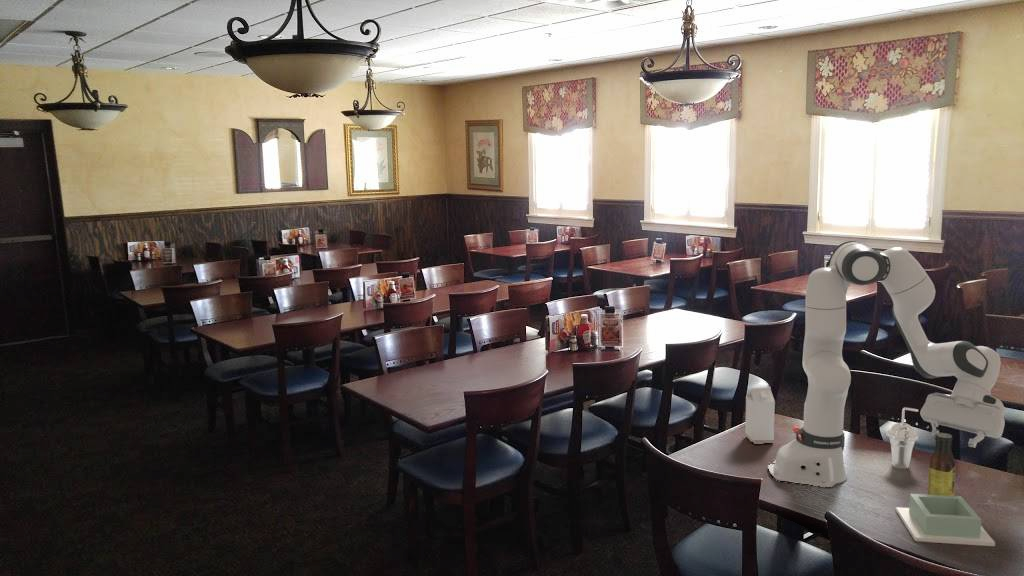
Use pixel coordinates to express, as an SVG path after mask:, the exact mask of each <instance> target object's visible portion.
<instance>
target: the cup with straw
mask: <svg viewBox="0 0 1024 576" xmlns="http://www.w3.org/2000/svg"><path fill="white" fill-rule="evenodd" d="M905 411H911V412H916V413H917V412H918V413H919V412H920V409H917V408H912V407H903V408H902V411H901V422H897V423H895V424H893V425H892V426H891V428H890V429H888V431H887V433H886V435H887V437H889V443H890V449H891V452H890V453H891V462H892V466H893V467H894V468H897V469H900V470H901V469H902V470H903V469H904V470H905V469H906V468H907V469H909V468H910V467H909V465H910V462H911V458H912V454H913V453H912V452H913V448H914V445H915V443H916V442H915V441H917V440H919V437H918V433H916V432H915V429H914V428H913V427H912V426H911V424H908V423H906V422H905V413H906V412H905ZM908 467H909V468H908Z"/></svg>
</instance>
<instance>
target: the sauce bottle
mask: <svg viewBox="0 0 1024 576" xmlns="http://www.w3.org/2000/svg"><path fill="white" fill-rule="evenodd" d="M934 440H935V447H934V451H933V452H932V453H931V454H930V457H929V466H928V482H927V483H928V484H927V495H944V496H955V481H956V466H957V464H956V461H955V458H954V454H953V452H952V442H953V435H952V434H950V433H945V432H939V433H936V434H935V437H934Z"/></svg>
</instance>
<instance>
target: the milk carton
mask: <svg viewBox="0 0 1024 576" xmlns="http://www.w3.org/2000/svg"><path fill="white" fill-rule="evenodd" d="M771 388H772V387H771V386H764V387H763V386H761V387H750V389H749V390H750V391H749V392H748V393H747V395H746V396H745V430H744V431H745V433H746V434H747V435H748V436H749V437H750V438H751V439H752V440H774V439H775V416H776V415H775V409H776V408H775V407H776V406H775V405H776V400H775V398H774V395H773V393H772V389H771ZM745 433H744V434H745ZM774 441H775V440H774Z"/></svg>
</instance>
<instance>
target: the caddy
mask: <svg viewBox="0 0 1024 576" xmlns="http://www.w3.org/2000/svg"><path fill="white" fill-rule="evenodd" d="M908 503H909V504H908V505H909V506H908V507H897V506H896V507H895V511H896V514H897V515H898V516H899V518H900V520H901V521H902V523H903V524H904V526H905V528H906V529H907V530H908V532H909V534H910V535H911V537H912V538H913V540H914V542H923V543H936V544H937V543H938V544H939V543H941V544H953V545H968V546H985V547H996V542H995V540H994V539H993V538H992V537H991V536H990V535H989V533H988V532H987V531H986V530H985V529H984V527H983V526H982V518H981V517H980V516H979V515H978V514H977V513H976V511H974V509H973V508H972V507H971V506H970V504H969V503H968V502H967V501H966V500H965V498H964V497H963V496H962V495H961V496H959V495H954V496H944V495H928V494H922V493H909V502H908Z"/></svg>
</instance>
